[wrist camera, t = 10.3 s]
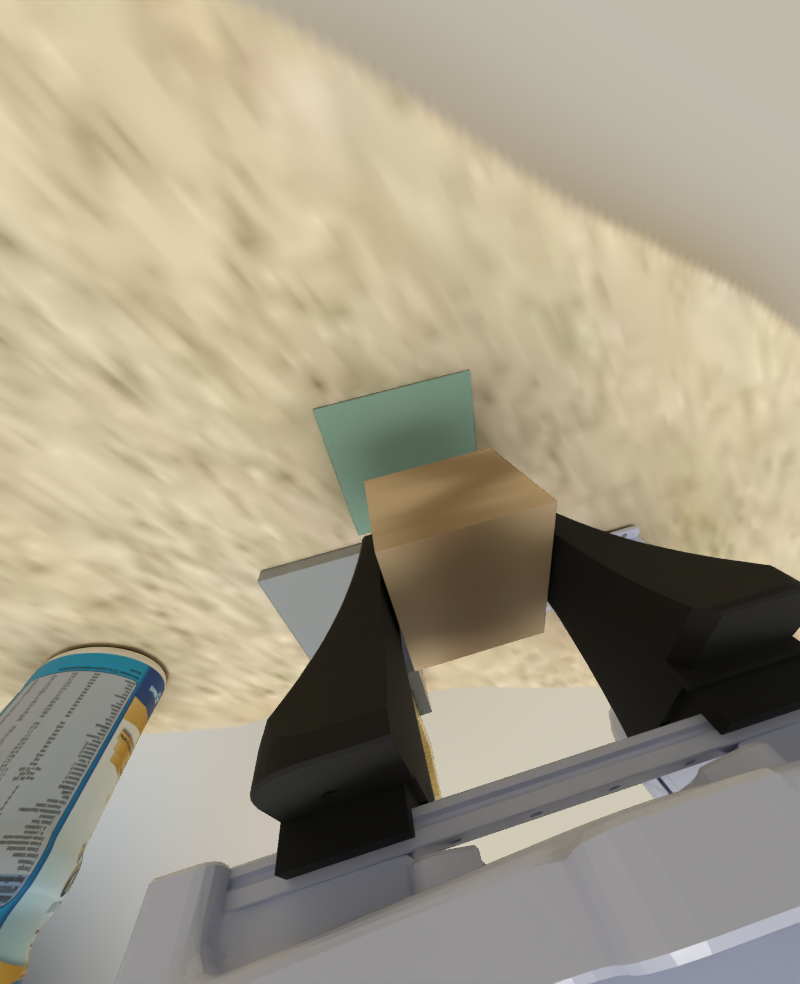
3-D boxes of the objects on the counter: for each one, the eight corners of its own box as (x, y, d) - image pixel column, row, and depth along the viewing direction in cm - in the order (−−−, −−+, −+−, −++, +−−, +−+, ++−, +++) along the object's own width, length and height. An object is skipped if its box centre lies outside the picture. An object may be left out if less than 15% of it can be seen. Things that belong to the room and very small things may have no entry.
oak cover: (490, 447, 11) (557, 501, 8) (494, 558, 14) (543, 632, 11) (364, 481, 11) (375, 552, 7) (396, 586, 14) (415, 671, 11)
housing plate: (446, 519, 21) (473, 567, 17) (465, 641, 30) (486, 695, 25) (260, 571, 21) (239, 634, 16) (332, 681, 29) (331, 743, 25)
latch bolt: (411, 693, 22) (425, 763, 19) (430, 743, 28) (444, 805, 24) (386, 701, 22) (395, 772, 19) (410, 749, 27) (421, 813, 24)
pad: (468, 369, 16) (470, 370, 16) (478, 499, 21) (479, 501, 21) (313, 409, 16) (312, 410, 16) (358, 532, 21) (358, 535, 20)
